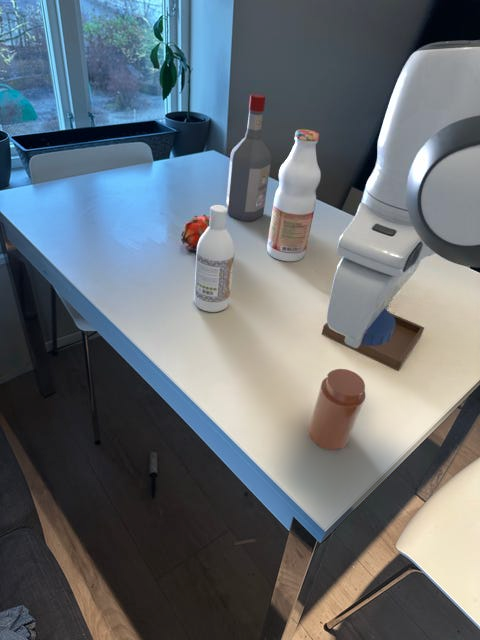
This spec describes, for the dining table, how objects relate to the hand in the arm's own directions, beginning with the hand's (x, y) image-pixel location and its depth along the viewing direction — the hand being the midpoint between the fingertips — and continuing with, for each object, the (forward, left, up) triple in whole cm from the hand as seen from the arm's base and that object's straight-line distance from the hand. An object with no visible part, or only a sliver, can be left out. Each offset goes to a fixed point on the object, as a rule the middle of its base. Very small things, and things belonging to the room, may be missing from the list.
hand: (365, 328), depth 54 cm
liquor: (+53, -54, -20) cm, 78 cm away
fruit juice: (+33, -43, -20) cm, 57 cm away
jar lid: (0, 0, +1) cm, 1 cm away
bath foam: (+33, -14, -20) cm, 41 cm away
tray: (+4, -27, -20) cm, 33 cm away
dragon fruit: (+49, -30, -20) cm, 61 cm away
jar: (0, 0, -19) cm, 19 cm away
